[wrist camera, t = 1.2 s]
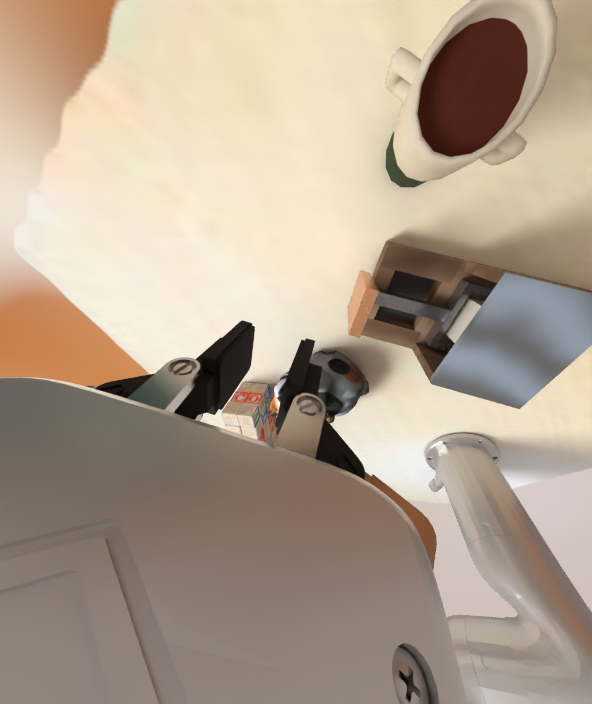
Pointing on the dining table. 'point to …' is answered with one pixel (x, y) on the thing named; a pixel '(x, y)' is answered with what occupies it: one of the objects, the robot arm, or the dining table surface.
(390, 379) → the dining table surface
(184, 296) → the dining table surface
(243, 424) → the stack of blocks
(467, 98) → the character mug
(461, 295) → the sled
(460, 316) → the block
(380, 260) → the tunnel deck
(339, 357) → the lucky cat figurine
